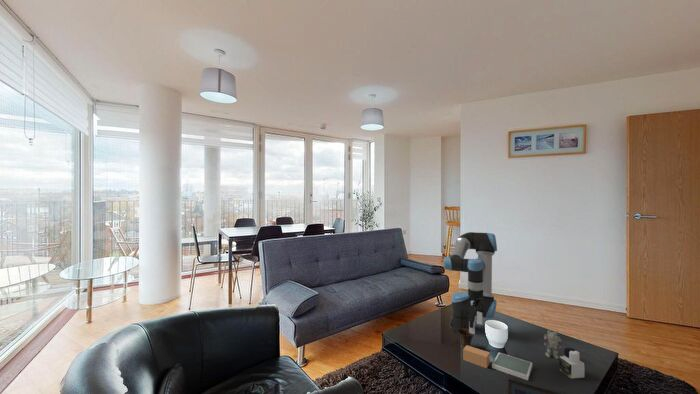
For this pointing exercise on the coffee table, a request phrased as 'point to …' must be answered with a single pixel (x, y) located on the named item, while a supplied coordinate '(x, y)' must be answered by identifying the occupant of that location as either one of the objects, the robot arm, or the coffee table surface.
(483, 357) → the tan rectangular pillar
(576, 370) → the medicine bottle
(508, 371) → the framed panel
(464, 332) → the cup
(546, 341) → the figurine
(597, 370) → the coffee table surface
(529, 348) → the coffee table surface
